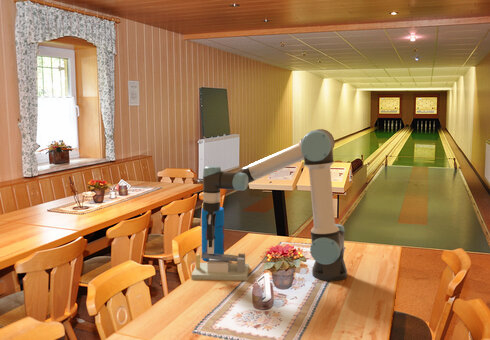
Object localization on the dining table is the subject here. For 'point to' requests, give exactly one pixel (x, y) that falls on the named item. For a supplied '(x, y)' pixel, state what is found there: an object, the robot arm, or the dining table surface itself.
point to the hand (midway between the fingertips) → (210, 253)
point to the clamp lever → (221, 256)
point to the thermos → (218, 232)
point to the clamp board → (220, 275)
